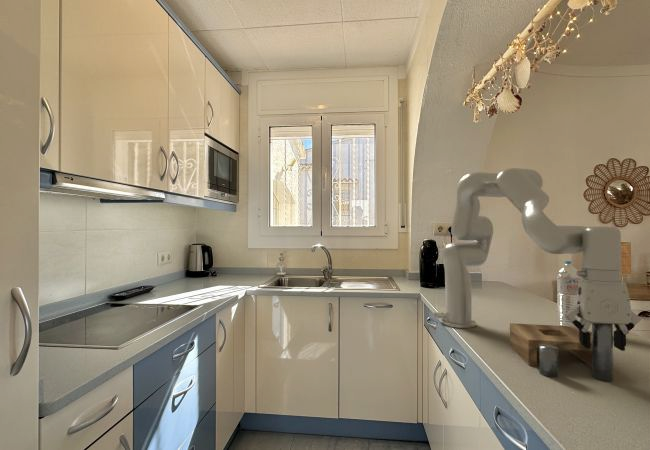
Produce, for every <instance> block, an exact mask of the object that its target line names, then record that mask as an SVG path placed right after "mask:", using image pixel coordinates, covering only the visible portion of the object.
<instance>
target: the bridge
mask: <svg viewBox="0 0 650 450" xmlns="http://www.w3.org/2000/svg"><path fill="white" fill-rule="evenodd" d="M590 342H591V348H590V349H587V348H585V347H584V346H582V345H581V343H580V341H579V329H577V328H576V327H574V326H558V325H554V324H552V325H551V324H532V323H529V324H528V323H509V345H510V346H509V347H511V348H512V349H513V350H514V351H515V353H517V355H518V356H520V357H521V359H522V360H523V361H524V362H525V363H526V364H527V365H528V366H532V367H533V366H534V367H537V366H538V363H537V361H538V358H537V357H538V356H537V355H538V354H537V353H538V352H537V349H538V348H539V345H540V344H548V345H553V346H556V347H557V348H558V350H567V351H569V352H570V353H572V354H573V355H575V356H576V357H577V358H579V359H580V360H581V361H583V362H584V363H585V364H587V365H588V366H589V367H591V368H592V335H590Z"/></svg>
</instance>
